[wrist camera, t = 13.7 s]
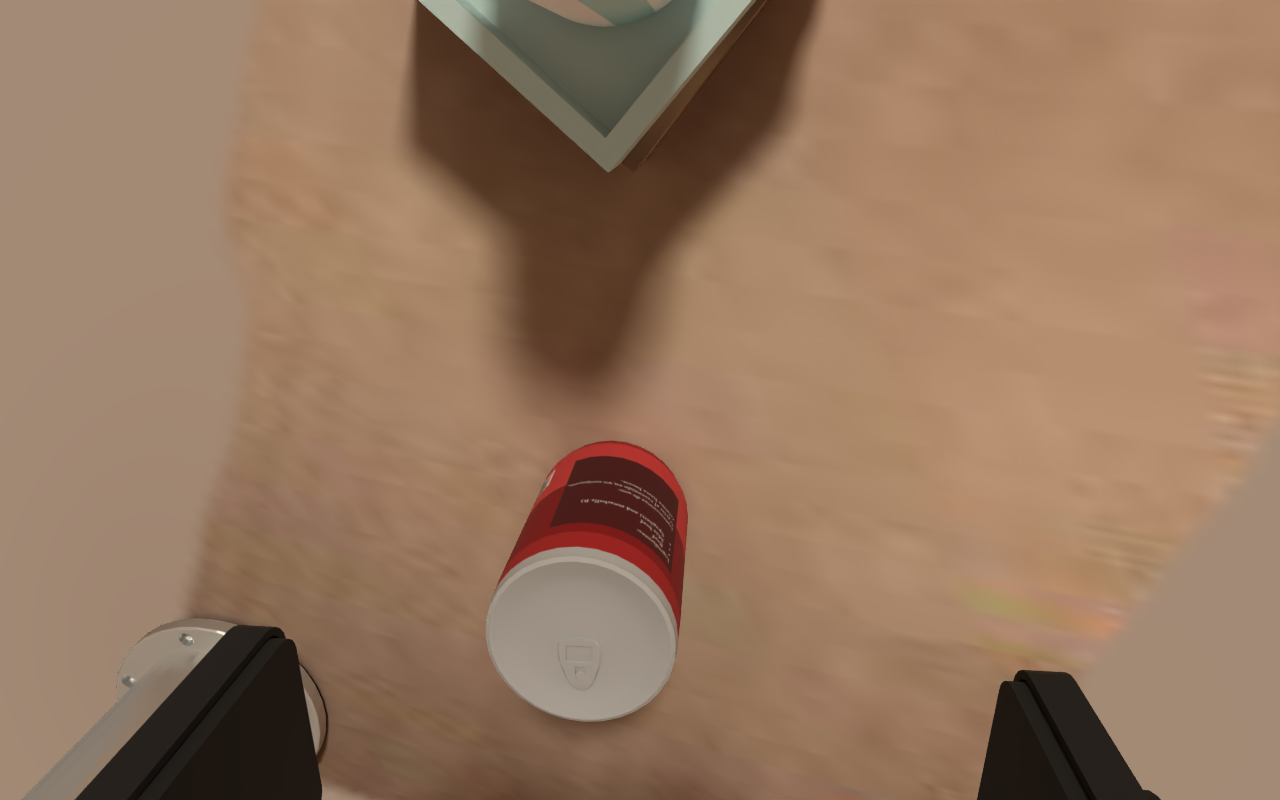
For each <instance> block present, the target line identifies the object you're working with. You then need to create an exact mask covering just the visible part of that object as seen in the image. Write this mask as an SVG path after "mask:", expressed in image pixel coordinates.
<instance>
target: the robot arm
mask: <svg viewBox="0 0 1280 800" xmlns="http://www.w3.org/2000/svg"><path fill="white" fill-rule="evenodd" d="M116 689H117V696H118V702H117V703H116V704H115V705H114V706H113V707H112V708H111V709H110V710H109V711H108V712H107V713H106V714H105V715H104V716H103V717H102V718H101V719H100V720H99V721H98V722H97V723H96V724H95V725H94V726H93V727H92V728H91V729H90V730H89V731H88V732H87V733H86V734H85V735H84V736H83V737H82V738H81V739H80V740H79V741H78V742H77V743H76V744H75V745H74V746H73V747H72V748H71V749H70V750H69V751H68V752H67V753H66V754H65V755H64V757H62V758H61V759H60V761H58V763H57V764H56V765H55V766H54V767H53V768H52V769H51V770H50V771H49V772H48V773H47V774H46V775H45V776H44V777H43V778H42V779H41V780H40V781H39V782H38V783H37V784H36V785H35V786H34V787H33V788H32V789H31V790H30V791H29V792H28V793H27V794H26V795H25V796H24V797H23V798H22V799H21V800H321V797H322V784H321V779H320V774H319V768H318V763H317V757H316V756H317V754H318V752H319V750H320V749H321V747H322V745H323V741H324V737H325V733H326V714H325V710H324V706H323V702H322V699H321V697H320V695H319V692H318V690H317V688H316V686H315V684H314V683H313V681H312V680H311V678H310V677H309V675H308V674H307V673H306V671H305V670H304V668H303V667H302V666H301V665H300V664H299V660H298V655H297V649H296V646H295V643H294V642H293V640H291V639H286V638H285V635H284V632H283V631H282V630H281V629H280V628H277V627H265V626H248V625H237V624H233V623H228V622H224V621H219V620H214V619H199V618H194V619H184V620H177V621H173V622H170V623H167V624H164V625H161V626H159V627H157V628H156V629H154V630H152V631H151V632H149V633H147V634H146V635H145V636H144V637H143V638H142V639H141V640H140V641H138V642H137V643H136V644H135V645H134V646H133V647H132V648H131V649H130V651H129V652H128V653H127V655H126V656H125V657H124V659H123V661H122V663H121V666H120V669H119V671H118V676H117V686H116ZM977 800H1161V799H1160V798H1159V797H1158V796H1157V795H1155V794H1154V793H1152V792H1151V791H1149V790H1143V789H1142V788H1141V786H1140V784H1139V783H1138V781H1137V780H1136V778H1135V776H1134V775H1133V773H1132V771H1131V770H1130V768H1129V767H1128V765H1127V763H1126V762H1125V760H1124V759H1123V757H1122V755H1121V754H1120V752H1119V751H1118V749H1117V747H1116V746H1115V744H1114V742H1113V741H1112V739H1111V737H1110V736H1109V734H1108V733H1107V731H1106V729H1105V728H1104V726H1103V725H1102V723H1101V721H1100V720H1099V718H1098V716H1097V715H1096V713H1095V712H1094V710H1093V708H1092V707H1091V705H1090V704H1089V702H1088V700H1087V699H1086V697H1085V695H1084V694H1083V692H1082V691H1081V689H1080V687H1079V686H1078V684H1077V682H1076V681H1075V680H1074V678H1073V677H1072V676H1071V675H1070V674H1068V673H1066V672H1049V671H1031V670H1020V671H1018V672H1017V674H1016V675H1015V678H1014V681H1004V682H1003V683H1002V684H1001V686H1000V689H999V694H998V699H997V704H996V709H995V714H994V718H993V723H992V728H991V733H990V738H989V743H988V748H987V753H986V758H985V763H984V768H983V773H982V778H981V783H980V788H979V793H978V798H977Z"/></svg>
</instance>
